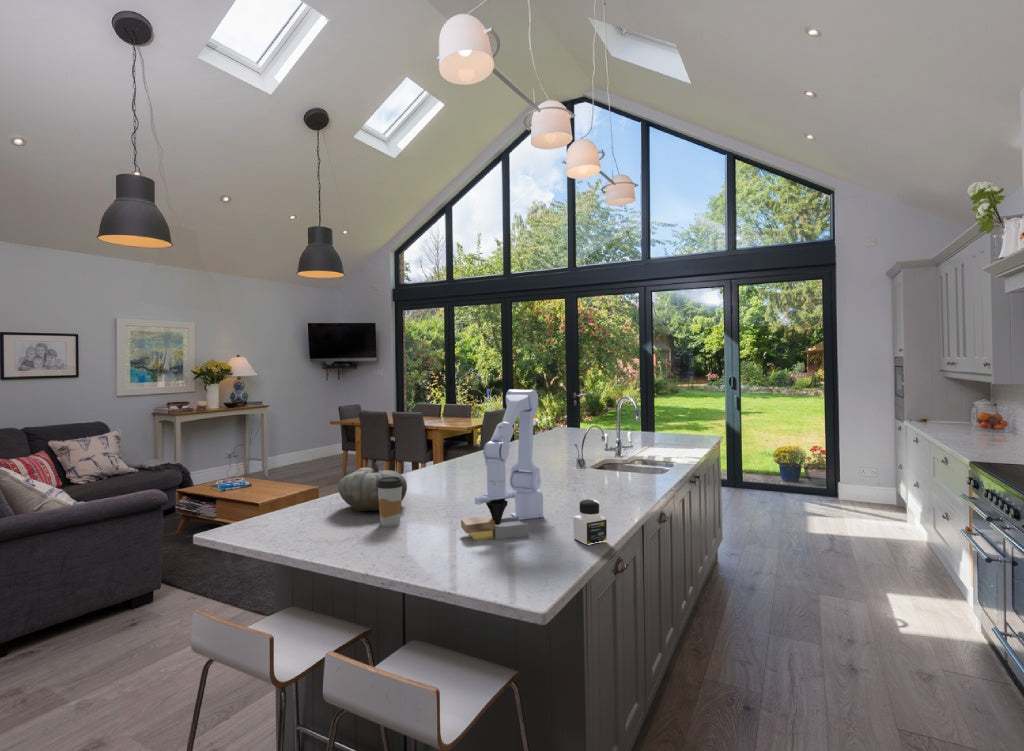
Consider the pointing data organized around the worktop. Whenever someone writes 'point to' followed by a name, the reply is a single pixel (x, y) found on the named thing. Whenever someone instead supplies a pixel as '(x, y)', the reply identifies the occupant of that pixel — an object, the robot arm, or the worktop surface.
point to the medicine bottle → (590, 523)
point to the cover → (477, 524)
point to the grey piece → (510, 528)
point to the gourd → (365, 487)
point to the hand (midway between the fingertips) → (496, 524)
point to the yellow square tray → (481, 535)
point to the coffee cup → (390, 500)
